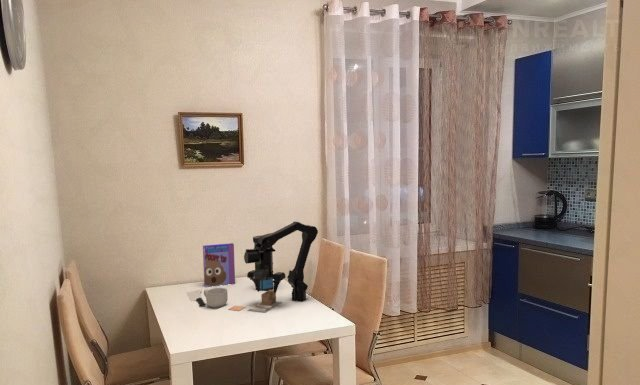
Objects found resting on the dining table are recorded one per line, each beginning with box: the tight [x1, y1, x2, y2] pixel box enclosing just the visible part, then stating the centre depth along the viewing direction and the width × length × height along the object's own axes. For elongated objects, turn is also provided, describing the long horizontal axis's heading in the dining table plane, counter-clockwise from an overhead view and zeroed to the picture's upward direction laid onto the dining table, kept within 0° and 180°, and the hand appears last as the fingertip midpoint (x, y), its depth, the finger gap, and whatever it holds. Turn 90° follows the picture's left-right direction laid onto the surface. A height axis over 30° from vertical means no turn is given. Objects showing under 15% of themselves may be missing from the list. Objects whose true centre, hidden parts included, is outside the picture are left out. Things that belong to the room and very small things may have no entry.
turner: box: [249, 289, 277, 312], centre depth 219 cm, size 16×8×6 cm, turn 158°
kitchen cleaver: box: [186, 289, 207, 308], centre depth 236 cm, size 31×2×10 cm
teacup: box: [203, 287, 229, 309], centre depth 224 cm, size 14×11×8 cm
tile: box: [227, 305, 246, 312], centre depth 216 cm, size 6×2×6 cm
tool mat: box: [246, 300, 283, 314], centre depth 219 cm, size 10×18×1 cm, turn 157°
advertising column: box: [252, 235, 274, 292], centre depth 251 cm, size 11×11×30 cm
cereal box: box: [202, 243, 236, 288], centre depth 264 cm, size 17×5×24 cm, turn 111°
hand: (266, 292), depth 220 cm, fingers open, 9 cm apart
